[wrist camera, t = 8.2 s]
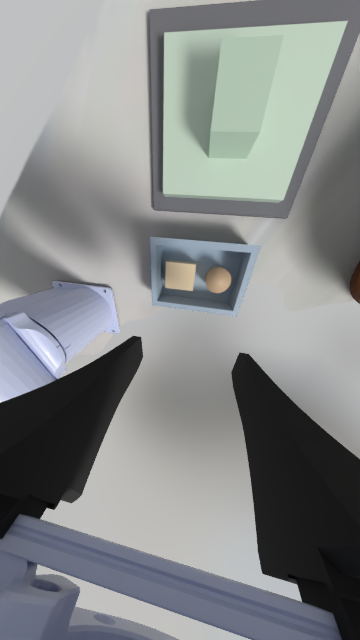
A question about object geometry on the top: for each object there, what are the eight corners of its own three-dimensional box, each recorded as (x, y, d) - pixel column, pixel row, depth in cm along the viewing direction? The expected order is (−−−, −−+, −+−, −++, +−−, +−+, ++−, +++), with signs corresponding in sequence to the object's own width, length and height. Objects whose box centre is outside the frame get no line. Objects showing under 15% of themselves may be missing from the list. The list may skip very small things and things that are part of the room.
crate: (159, 296, 18) (152, 305, 16) (159, 238, 15) (149, 236, 12) (231, 305, 17) (237, 316, 15) (249, 245, 14) (260, 245, 11)
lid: (165, 196, 13) (153, 180, 10) (167, 49, 9) (148, -57, 6) (278, 202, 12) (306, 187, 9) (335, 40, 8) (419, -92, 5)
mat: (154, 210, 14) (153, 209, 13) (151, 18, 9) (149, 9, 8) (284, 218, 13) (287, 217, 12) (367, 2, 8) (375, -9, 7)
